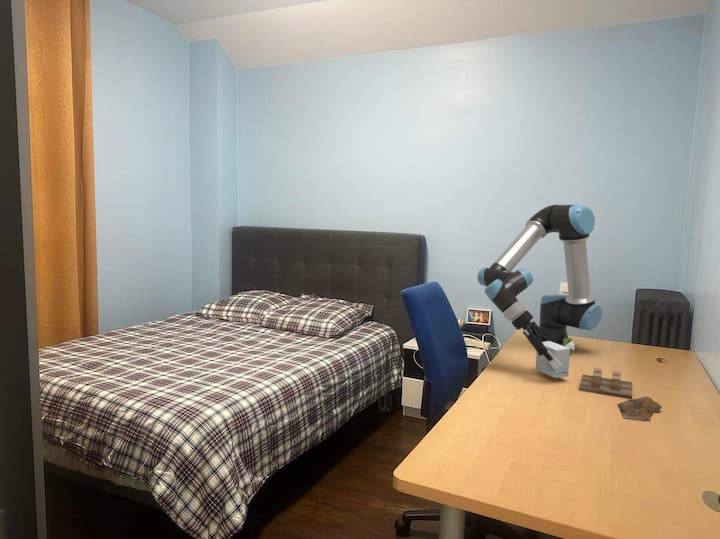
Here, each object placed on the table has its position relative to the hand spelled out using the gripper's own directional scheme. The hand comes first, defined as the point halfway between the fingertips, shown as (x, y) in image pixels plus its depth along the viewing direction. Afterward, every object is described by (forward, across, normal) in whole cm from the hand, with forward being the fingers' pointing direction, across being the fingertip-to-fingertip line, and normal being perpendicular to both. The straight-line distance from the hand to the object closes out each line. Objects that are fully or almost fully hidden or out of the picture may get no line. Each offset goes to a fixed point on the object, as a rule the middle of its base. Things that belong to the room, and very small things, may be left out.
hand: (560, 362), depth 183 cm
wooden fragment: (+22, +16, +13) cm, 31 cm away
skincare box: (+1, 0, -5) cm, 5 cm away
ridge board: (+15, +1, +6) cm, 16 cm away
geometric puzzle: (+4, -39, -5) cm, 39 cm away
